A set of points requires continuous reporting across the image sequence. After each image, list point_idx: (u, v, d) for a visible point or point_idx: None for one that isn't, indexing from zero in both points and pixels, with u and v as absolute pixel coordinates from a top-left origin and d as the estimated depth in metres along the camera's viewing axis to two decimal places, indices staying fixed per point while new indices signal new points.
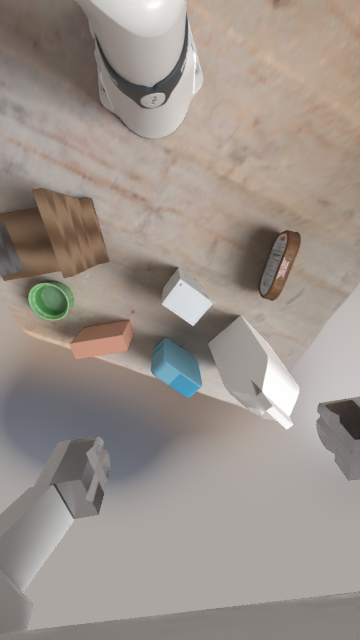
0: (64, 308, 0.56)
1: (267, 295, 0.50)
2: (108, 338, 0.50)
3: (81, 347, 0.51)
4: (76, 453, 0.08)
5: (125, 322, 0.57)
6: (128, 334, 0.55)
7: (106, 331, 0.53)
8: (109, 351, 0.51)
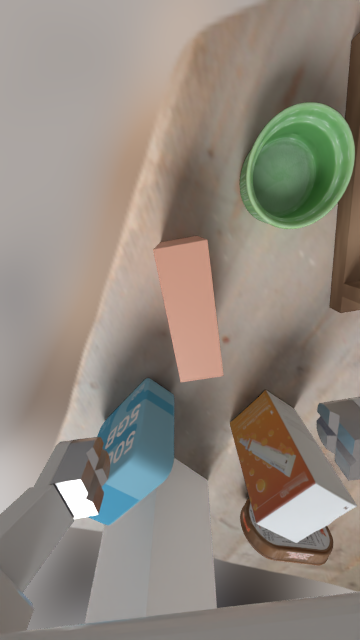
0: None
1: (258, 539, 0.35)
2: (216, 345, 0.20)
3: (193, 273, 0.17)
4: (76, 453, 0.08)
5: None
6: None
7: None
8: (178, 344, 0.20)
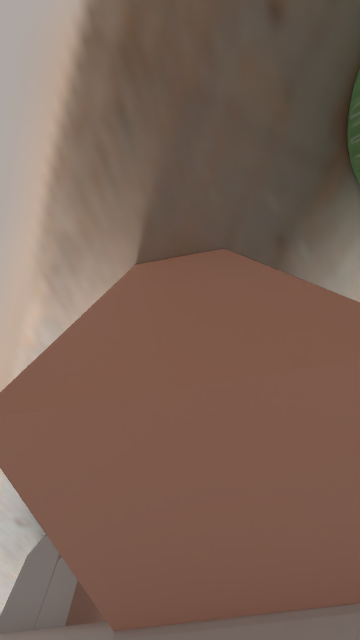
0: None
1: None
2: None
3: (284, 531, 0.03)
4: None
5: None
6: None
7: None
8: None
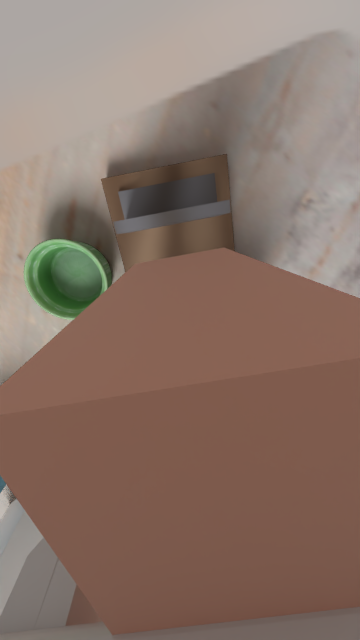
0: (59, 286, 0.29)
1: None
2: None
3: (285, 533, 0.03)
4: None
5: None
6: None
7: None
8: None
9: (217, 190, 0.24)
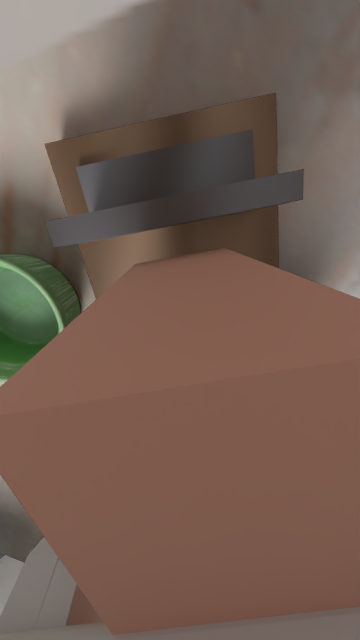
0: None
1: None
2: None
3: (285, 532, 0.03)
4: None
5: None
6: None
7: None
8: None
9: (255, 164, 0.13)
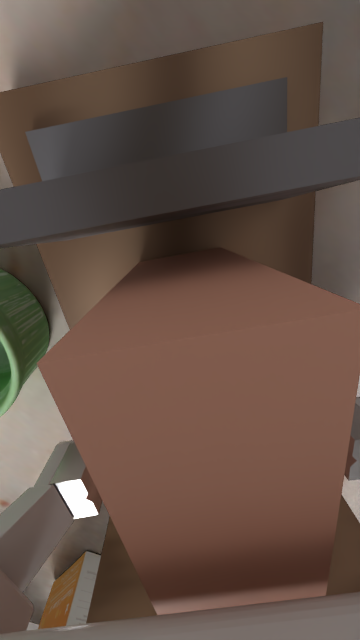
0: None
1: None
2: None
3: (258, 457, 0.04)
4: (76, 453, 0.08)
5: None
6: None
7: None
8: None
9: None
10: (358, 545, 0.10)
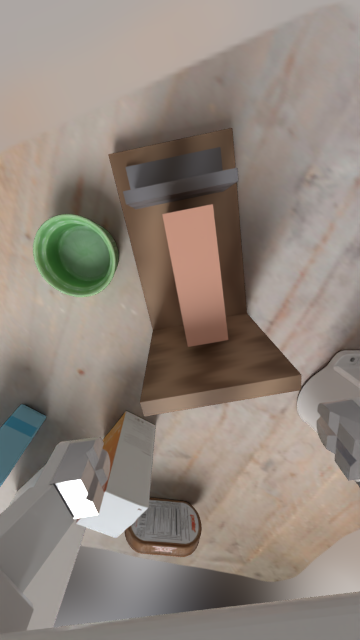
0: (66, 265, 0.29)
1: (131, 536, 0.41)
2: (221, 309, 0.21)
3: (199, 237, 0.19)
4: (76, 453, 0.08)
5: None
6: None
7: None
8: (185, 308, 0.21)
9: (223, 165, 0.24)
10: (257, 332, 0.25)
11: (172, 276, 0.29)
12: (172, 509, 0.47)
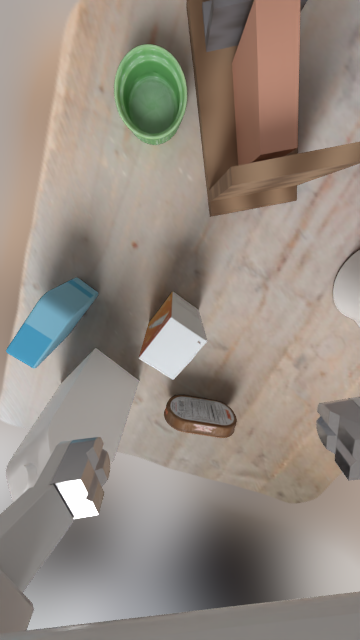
0: (134, 120, 0.32)
1: (172, 416, 0.44)
2: (295, 110, 0.23)
3: (285, 24, 0.21)
4: (76, 453, 0.08)
5: None
6: None
7: None
8: (263, 108, 0.23)
9: None
10: None
11: (232, 129, 0.31)
12: (207, 404, 0.49)
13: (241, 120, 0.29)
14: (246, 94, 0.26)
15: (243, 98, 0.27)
